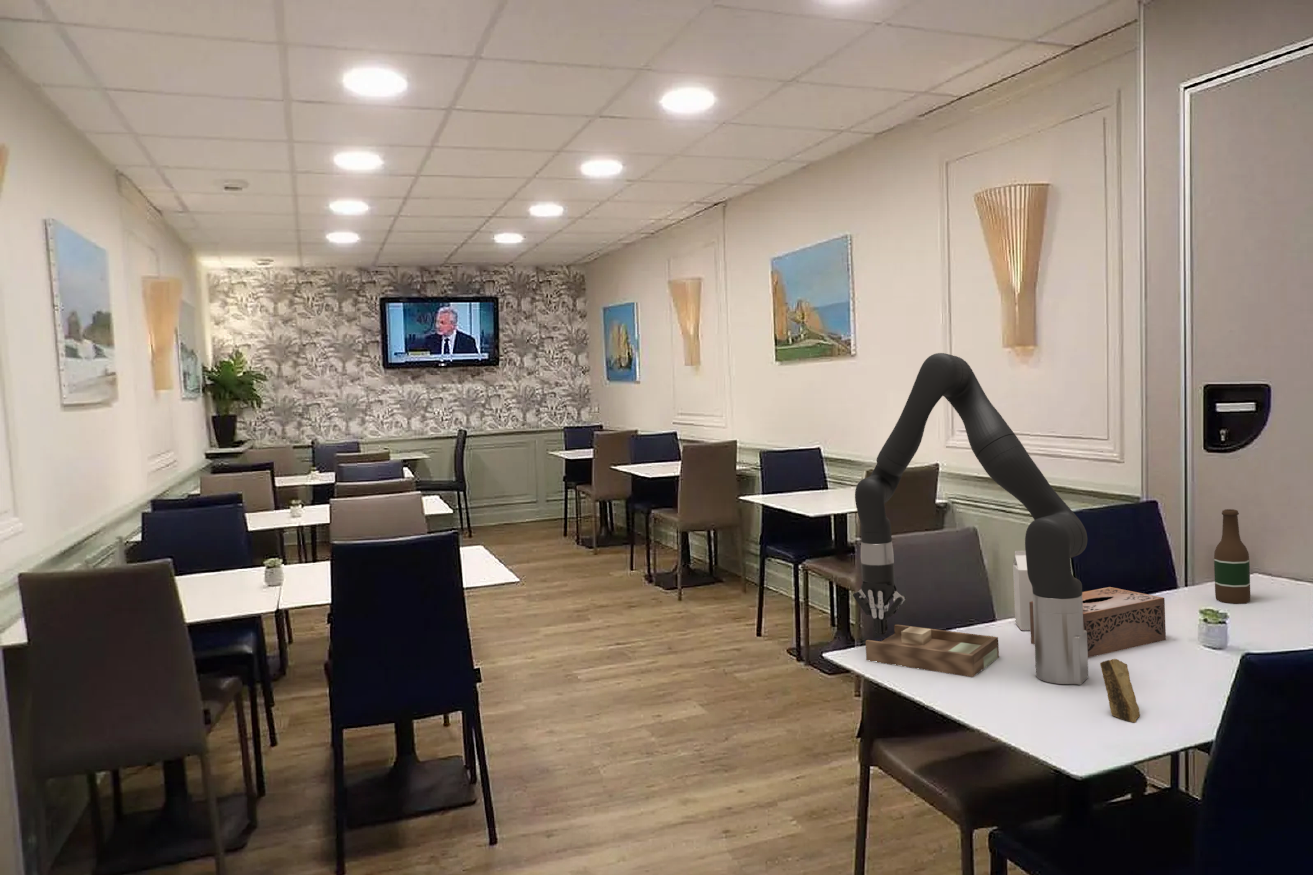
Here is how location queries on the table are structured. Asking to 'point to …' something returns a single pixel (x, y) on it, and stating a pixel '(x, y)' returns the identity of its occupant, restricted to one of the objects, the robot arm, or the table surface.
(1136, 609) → the tissue box cover
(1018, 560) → the milk carton
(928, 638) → the maple block
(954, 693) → the table surface
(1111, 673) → the rock
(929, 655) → the box
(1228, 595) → the beer bottle
